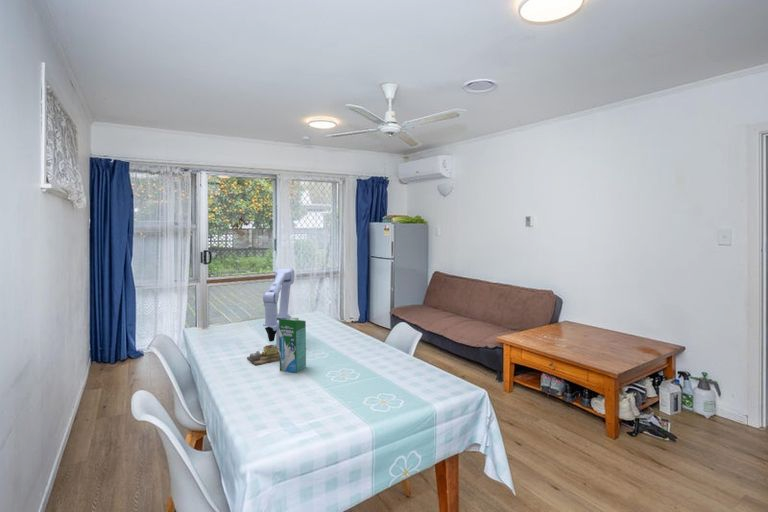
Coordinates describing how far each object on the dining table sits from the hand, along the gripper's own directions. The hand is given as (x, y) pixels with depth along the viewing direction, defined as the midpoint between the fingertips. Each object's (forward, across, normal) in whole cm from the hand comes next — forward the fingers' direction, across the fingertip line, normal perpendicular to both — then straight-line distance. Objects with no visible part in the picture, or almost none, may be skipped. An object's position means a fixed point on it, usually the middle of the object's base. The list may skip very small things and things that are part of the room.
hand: (271, 341), depth 204 cm
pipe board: (+9, 0, -3) cm, 9 cm away
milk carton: (+9, +20, +4) cm, 22 cm away
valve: (+8, 0, -1) cm, 8 cm away
